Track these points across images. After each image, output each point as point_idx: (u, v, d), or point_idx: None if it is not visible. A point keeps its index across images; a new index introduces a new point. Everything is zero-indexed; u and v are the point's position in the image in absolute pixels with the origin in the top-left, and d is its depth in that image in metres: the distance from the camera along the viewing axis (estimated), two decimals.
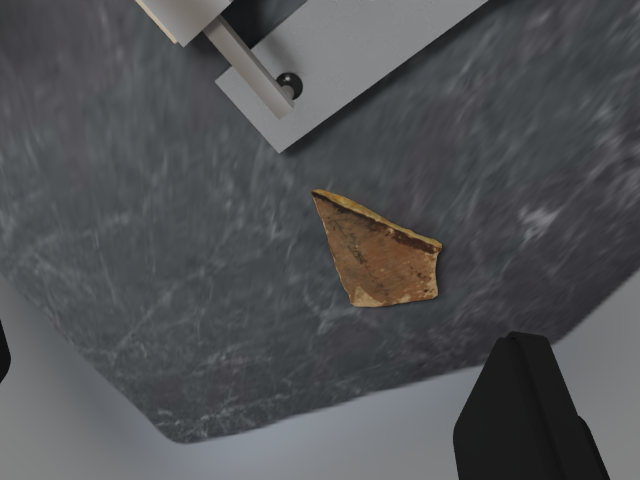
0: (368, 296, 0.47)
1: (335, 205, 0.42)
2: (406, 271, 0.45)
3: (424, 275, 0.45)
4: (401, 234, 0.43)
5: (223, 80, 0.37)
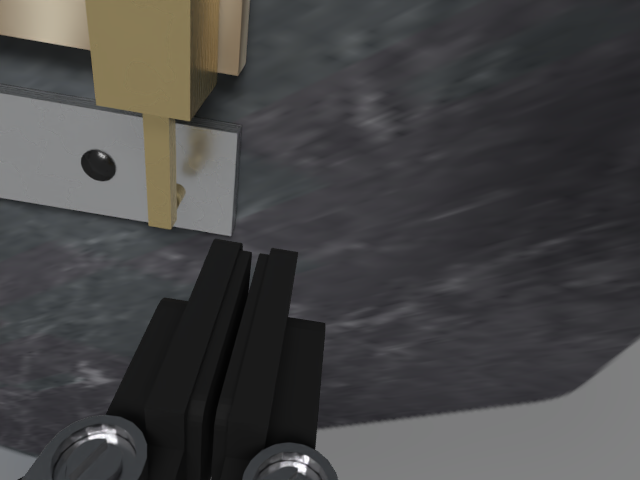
0: None
1: None
2: None
3: None
4: None
5: None
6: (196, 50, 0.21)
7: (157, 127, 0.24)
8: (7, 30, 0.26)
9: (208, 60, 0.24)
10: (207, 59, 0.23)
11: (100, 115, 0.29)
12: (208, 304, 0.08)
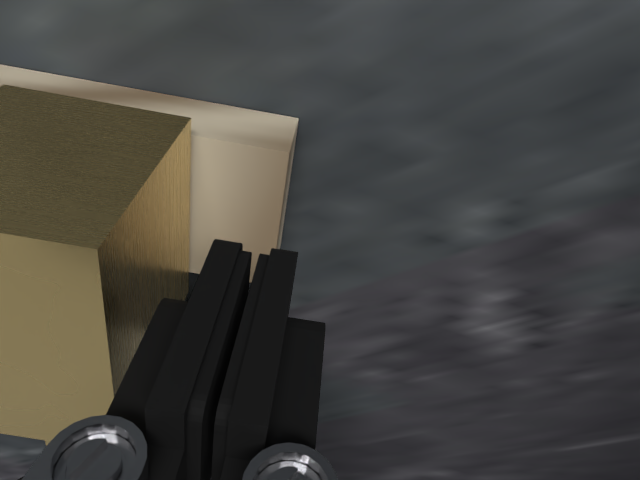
0: None
1: None
2: None
3: None
4: None
5: None
6: (130, 317, 0.09)
7: None
8: None
9: (166, 288, 0.12)
10: (163, 290, 0.11)
11: None
12: (208, 304, 0.08)
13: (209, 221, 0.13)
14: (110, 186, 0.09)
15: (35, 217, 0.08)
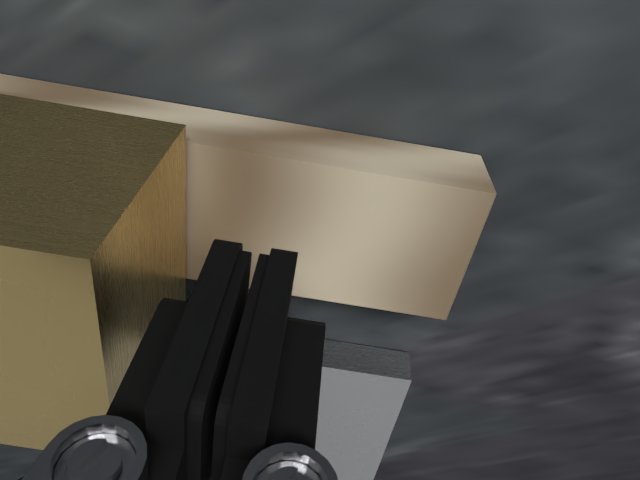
0: None
1: None
2: None
3: None
4: None
5: None
6: (126, 326, 0.09)
7: None
8: None
9: (163, 295, 0.12)
10: (160, 297, 0.11)
11: None
12: (208, 304, 0.08)
13: (398, 259, 0.13)
14: (103, 194, 0.09)
15: (27, 227, 0.08)
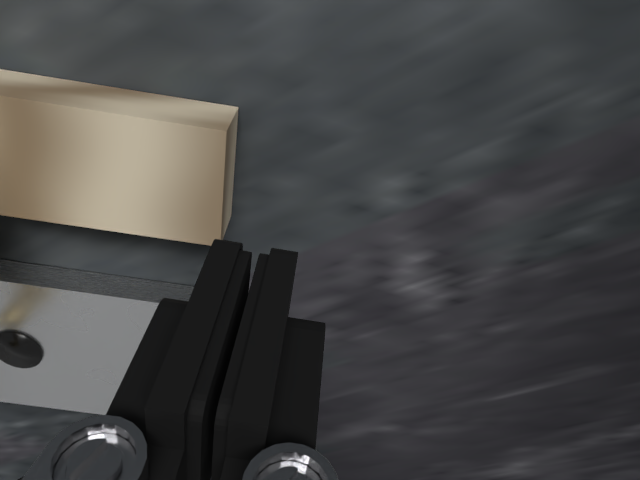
0: None
1: None
2: None
3: None
4: None
5: None
6: None
7: None
8: None
9: None
10: None
11: (14, 288, 0.19)
12: (208, 304, 0.08)
13: (165, 191, 0.16)
14: None
15: None
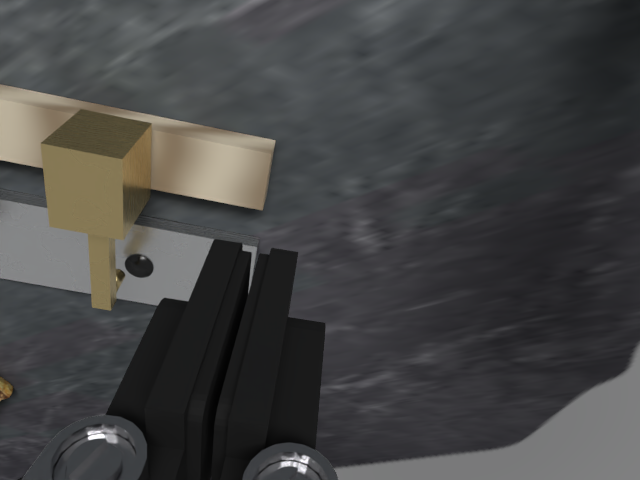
0: None
1: None
2: None
3: None
4: None
5: None
6: (129, 189, 0.28)
7: (99, 237, 0.31)
8: None
9: (141, 188, 0.30)
10: (140, 188, 0.30)
11: (145, 230, 0.35)
12: (208, 304, 0.08)
13: (238, 181, 0.32)
14: (124, 143, 0.27)
15: (103, 151, 0.26)
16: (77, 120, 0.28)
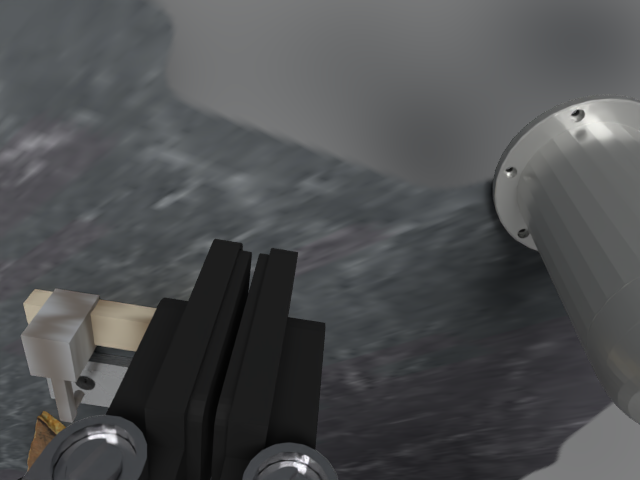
0: None
1: (49, 429, 0.59)
2: None
3: None
4: None
5: None
6: None
7: None
8: None
9: None
10: None
11: None
12: (208, 304, 0.08)
13: None
14: None
15: None
16: None
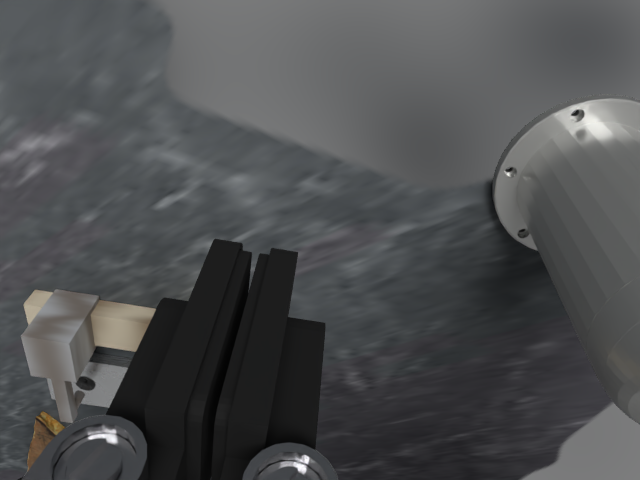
0: None
1: (48, 429, 0.59)
2: None
3: None
4: None
5: None
6: None
7: None
8: None
9: None
10: None
11: None
12: (208, 304, 0.08)
13: None
14: None
15: None
16: None
